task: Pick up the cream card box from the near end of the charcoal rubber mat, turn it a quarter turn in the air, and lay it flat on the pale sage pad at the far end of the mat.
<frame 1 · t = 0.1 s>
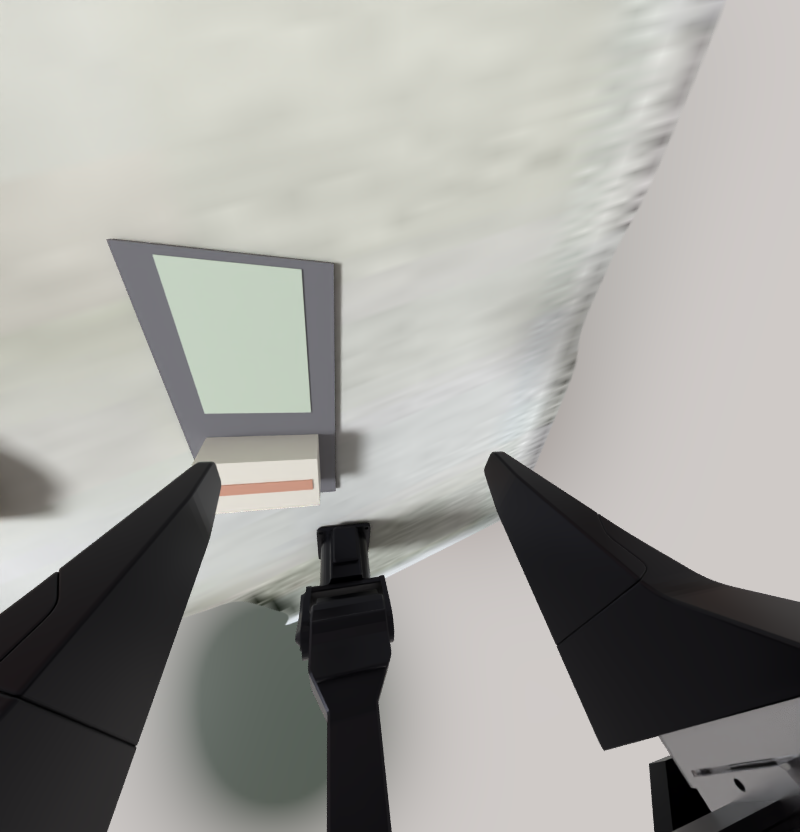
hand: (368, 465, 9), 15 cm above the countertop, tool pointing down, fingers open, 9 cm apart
mat: (260, 404, 23), on the countertop
card box: (269, 460, 26), resting on mat
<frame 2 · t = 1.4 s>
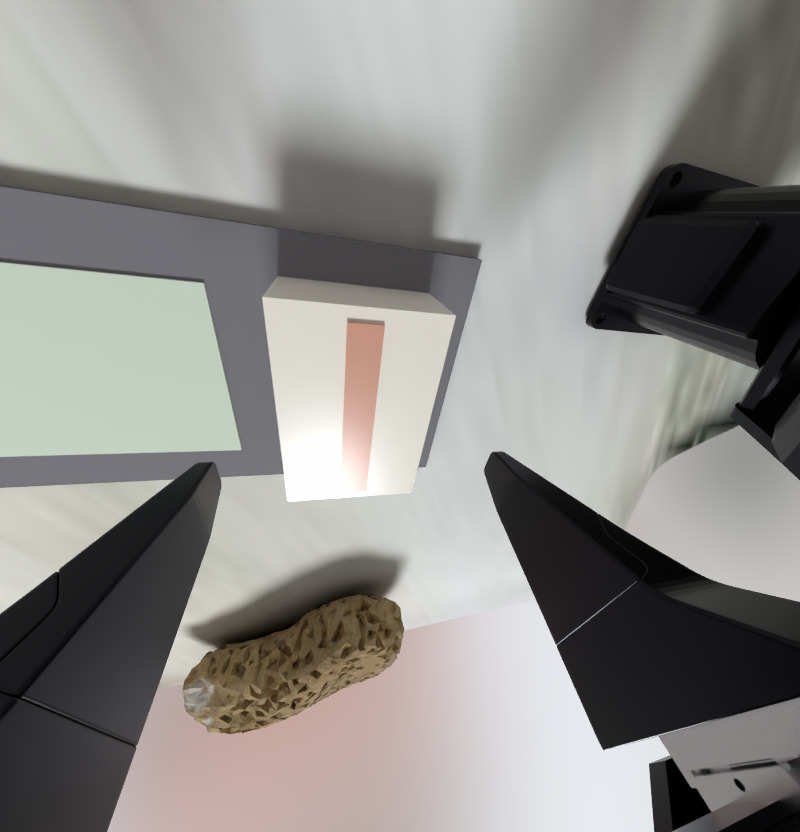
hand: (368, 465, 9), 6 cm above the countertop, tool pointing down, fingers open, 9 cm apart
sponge: (305, 618, 29), on the countertop
mat: (216, 376, 13), on the countertop
card box: (352, 384, 14), resting on mat
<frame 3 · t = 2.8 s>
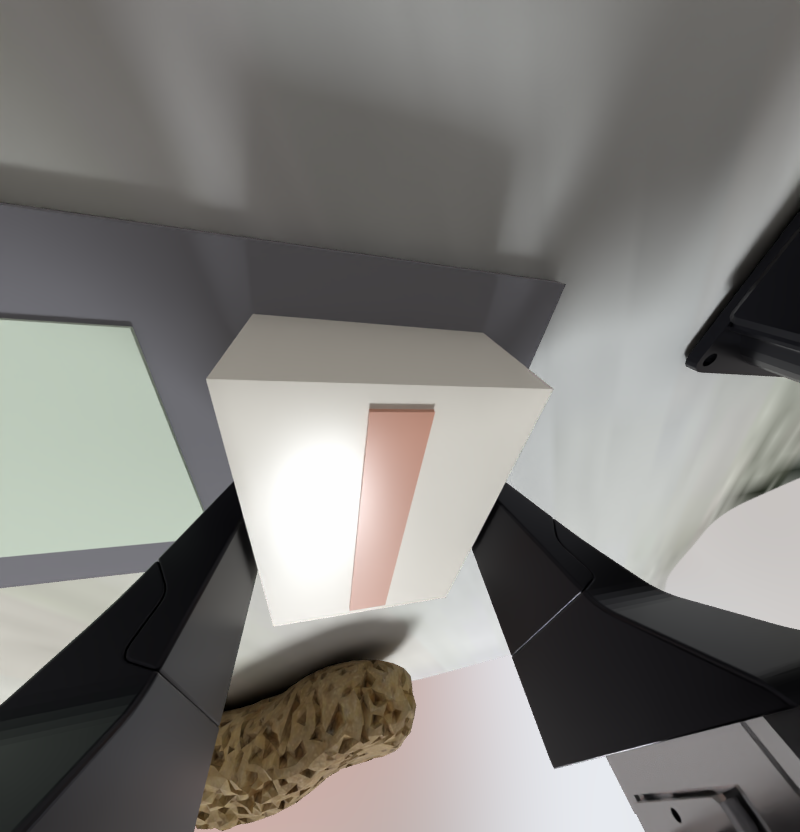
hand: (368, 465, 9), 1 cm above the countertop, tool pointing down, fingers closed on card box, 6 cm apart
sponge: (299, 679, 25), on the countertop
mat: (170, 449, 9), on the countertop
card box: (366, 452, 10), resting on mat, touching gripper
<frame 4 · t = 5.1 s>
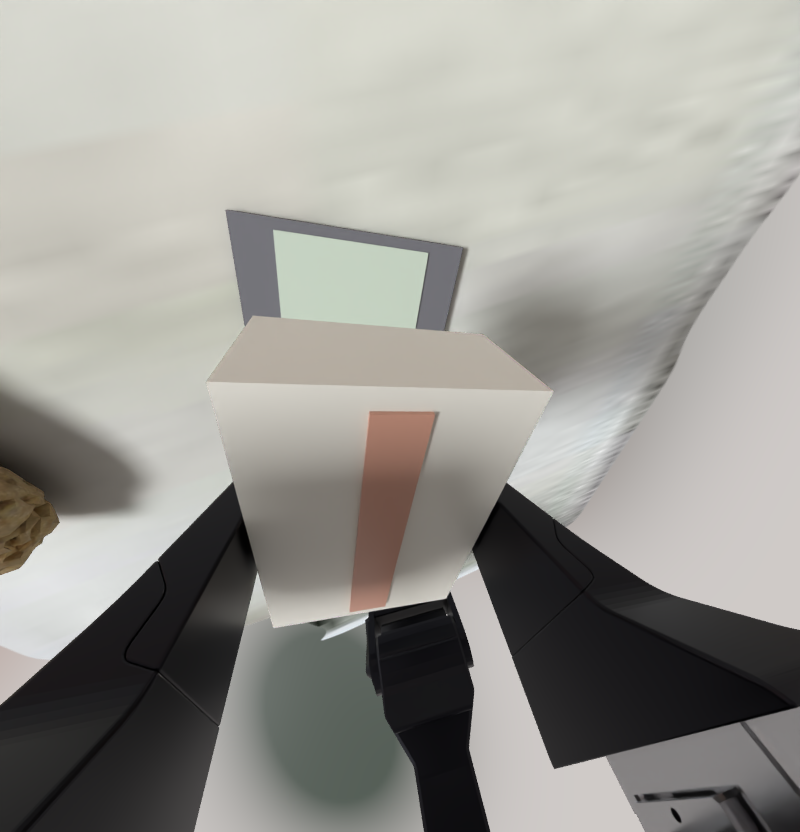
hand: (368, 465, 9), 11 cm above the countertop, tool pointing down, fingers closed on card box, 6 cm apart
mat: (347, 405, 21), on the countertop
card box: (366, 454, 10), point 11 cm above the countertop, touching gripper
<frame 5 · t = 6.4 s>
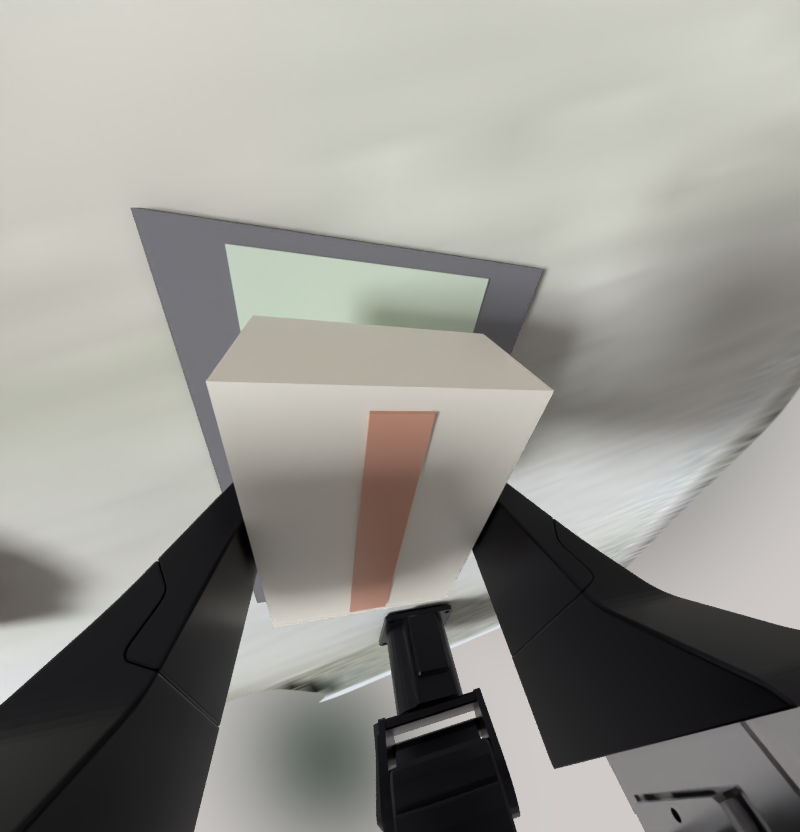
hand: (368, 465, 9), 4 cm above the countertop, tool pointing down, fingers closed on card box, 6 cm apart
mat: (353, 484, 15), on the countertop
card box: (366, 453, 10), point 3 cm above the countertop, touching gripper
when the fingers open (2 cm above the countertop, at t = 7.5 s): card box drops 1 cm, resting on mat.
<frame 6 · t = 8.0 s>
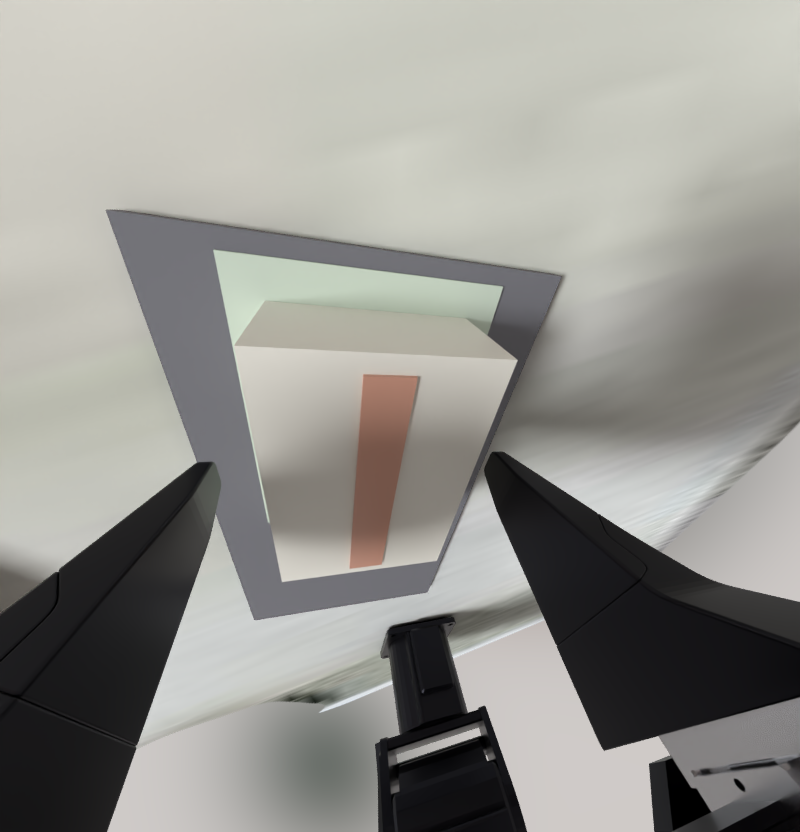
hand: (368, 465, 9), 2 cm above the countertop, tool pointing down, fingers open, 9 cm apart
mat: (355, 500, 14), on the countertop
card box: (364, 428, 11), resting on mat
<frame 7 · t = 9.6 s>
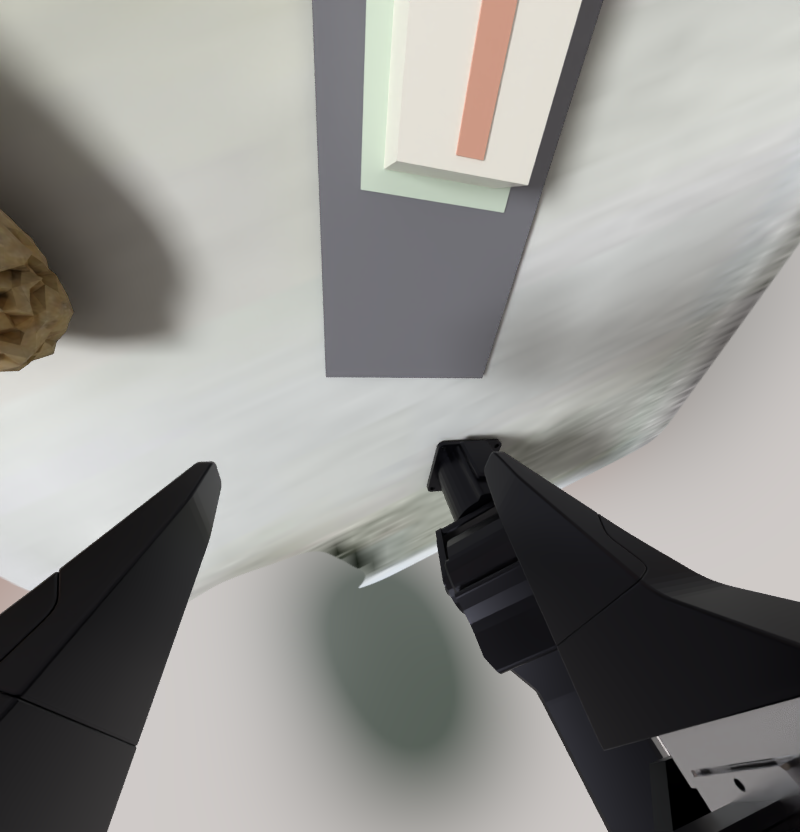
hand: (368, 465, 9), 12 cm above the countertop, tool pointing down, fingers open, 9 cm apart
mat: (435, 190, 15), on the countertop
card box: (463, 40, 12), resting on mat
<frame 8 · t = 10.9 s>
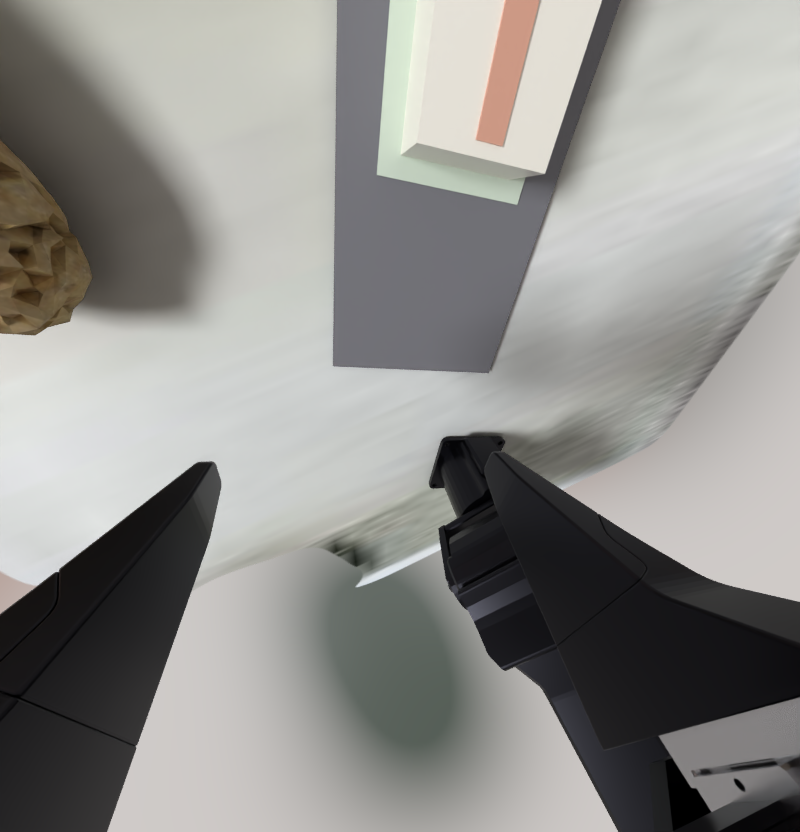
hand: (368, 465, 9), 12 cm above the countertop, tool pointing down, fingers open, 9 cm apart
mat: (450, 179, 15), on the countertop
card box: (484, 28, 12), resting on mat
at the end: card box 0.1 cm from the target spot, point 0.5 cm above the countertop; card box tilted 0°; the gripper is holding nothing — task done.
